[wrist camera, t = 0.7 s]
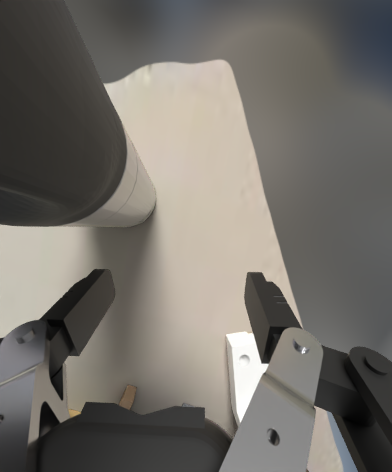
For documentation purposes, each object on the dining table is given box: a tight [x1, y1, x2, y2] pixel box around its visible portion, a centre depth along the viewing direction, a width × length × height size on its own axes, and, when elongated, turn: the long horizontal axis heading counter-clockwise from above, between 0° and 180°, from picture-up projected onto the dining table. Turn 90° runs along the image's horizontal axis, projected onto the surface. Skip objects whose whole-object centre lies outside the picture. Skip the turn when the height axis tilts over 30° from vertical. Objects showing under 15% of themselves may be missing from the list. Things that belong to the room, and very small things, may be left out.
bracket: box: [226, 332, 269, 427], centre depth 28 cm, size 13×7×8 cm, turn 5°
